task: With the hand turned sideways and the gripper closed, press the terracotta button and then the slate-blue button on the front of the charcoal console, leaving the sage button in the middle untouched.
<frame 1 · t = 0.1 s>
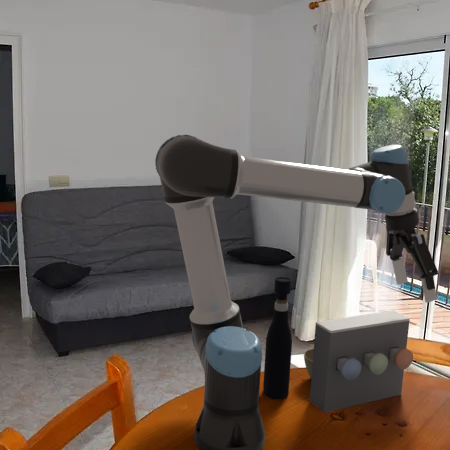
hand: (416, 291, 140), 28 cm above the table, tool tilted 20°, fingers open, 13 cm apart
terracotta button: (399, 356, 139), point 12 cm above the table, slide at 0.0 cm
flower pot: (320, 381, 151), on the table
sage button: (373, 361, 136), point 12 cm above the table, slide at 0.0 cm
slate button: (346, 366, 132), point 12 cm above the table, slide at 0.0 cm
control panel: (356, 397, 143), on the table
wine bottle: (275, 394, 143), on the table
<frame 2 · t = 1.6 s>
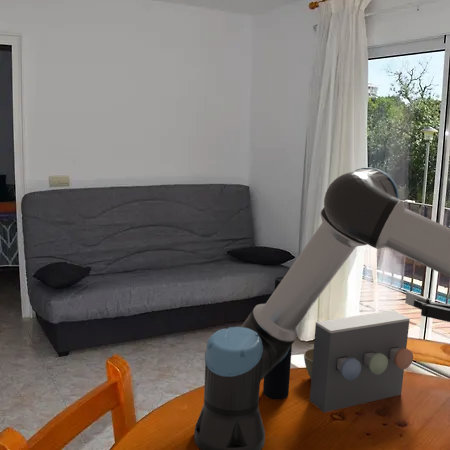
hand: (429, 293, 130), 30 cm above the table, tool horizontal, fingers open, 13 cm apart
nothing on the table moved.
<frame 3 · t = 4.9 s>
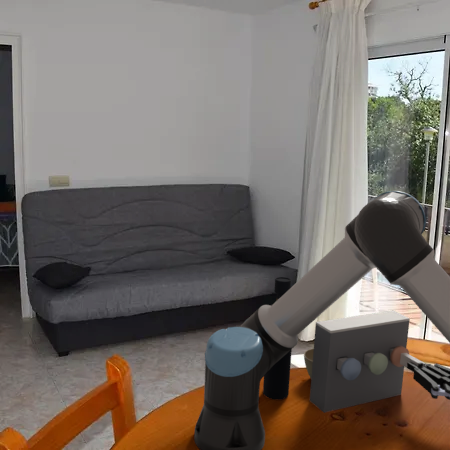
hand: (402, 358, 139), 12 cm above the table, tool horizontal, fingers closed
terracotta button: (395, 354, 140), point 12 cm above the table, slide at 1.3 cm, touching gripper
everything else where it was.
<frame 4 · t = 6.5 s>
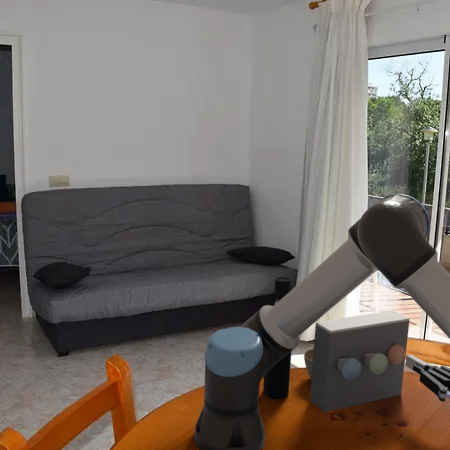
hand: (408, 360, 137), 12 cm above the table, tool horizontal, fingers closed
terracotta button: (391, 351, 142), point 12 cm above the table, slide at 2.7 cm
everything else where it was.
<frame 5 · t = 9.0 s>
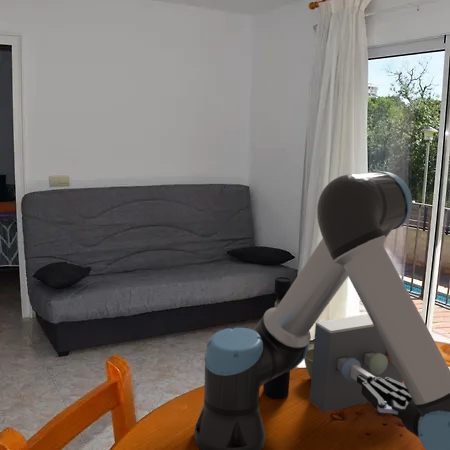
hand: (353, 370, 130), 12 cm above the table, tool horizontal, fingers closed
slate button: (346, 366, 132), point 12 cm above the table, slide at 0.1 cm, touching gripper
everything else where it was.
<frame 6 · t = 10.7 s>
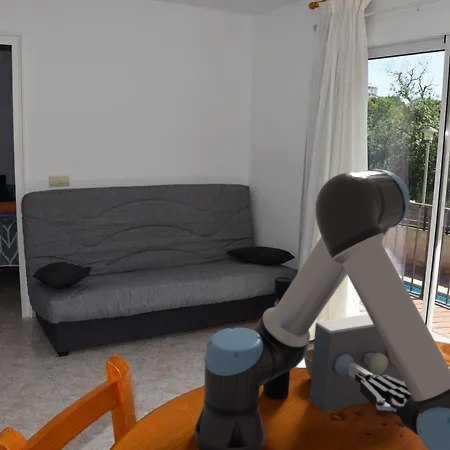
hand: (351, 368, 131), 12 cm above the table, tool horizontal, fingers closed
slate button: (339, 361, 135), point 12 cm above the table, slide at 2.7 cm
everything else where it was.
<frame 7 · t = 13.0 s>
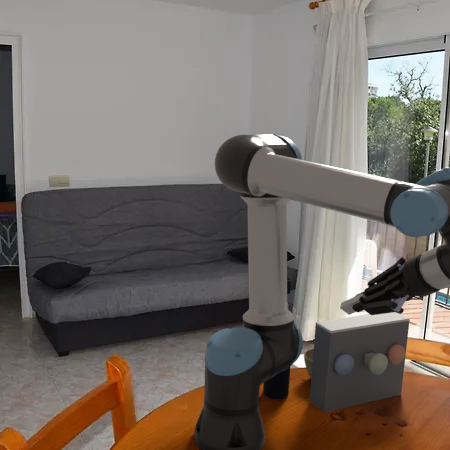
hand: (345, 308, 124), 28 cm above the table, tool tilted 55°, fingers closed
nothing on the table moved.
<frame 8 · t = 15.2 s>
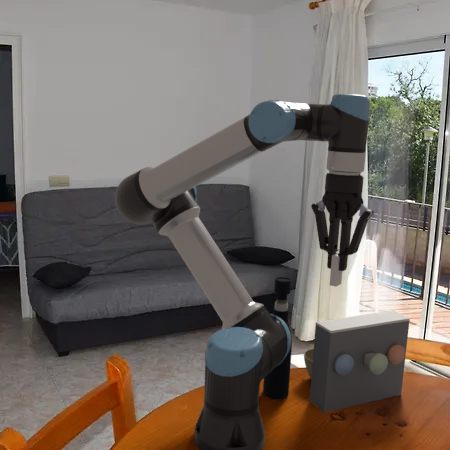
hand: (335, 284, 119), 34 cm above the table, tool pointing down, fingers closed
nothing on the table moved.
at the end: terracotta button slide at 2.7 cm; slate button slide at 2.7 cm; sage button slide at 0.0 cm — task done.
